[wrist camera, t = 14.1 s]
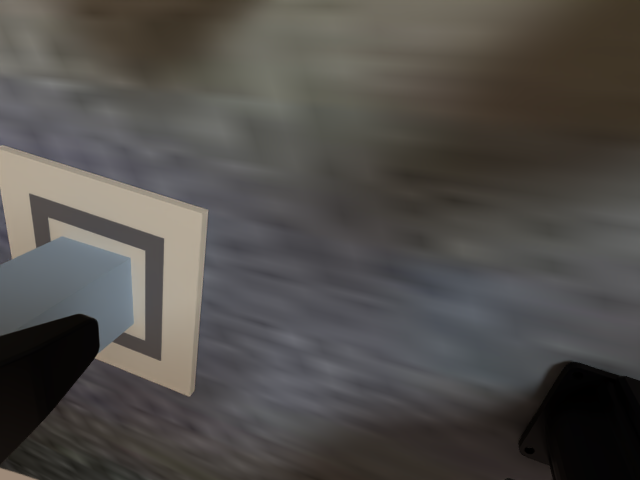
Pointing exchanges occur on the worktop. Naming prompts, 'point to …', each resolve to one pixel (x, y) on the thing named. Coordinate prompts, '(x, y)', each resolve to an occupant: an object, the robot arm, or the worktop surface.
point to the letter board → (125, 239)
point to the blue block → (67, 288)
